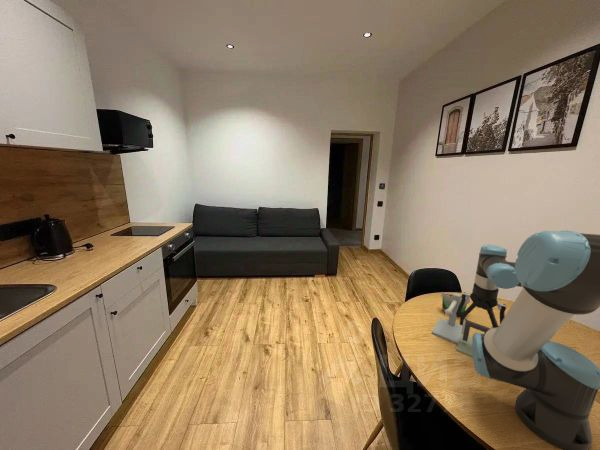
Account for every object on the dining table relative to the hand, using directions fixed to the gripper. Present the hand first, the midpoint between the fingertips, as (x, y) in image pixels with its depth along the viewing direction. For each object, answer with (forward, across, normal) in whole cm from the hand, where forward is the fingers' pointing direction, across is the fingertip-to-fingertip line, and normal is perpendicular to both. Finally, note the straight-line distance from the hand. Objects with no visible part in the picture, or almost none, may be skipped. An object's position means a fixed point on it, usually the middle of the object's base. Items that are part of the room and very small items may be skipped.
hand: (475, 337), depth 96 cm
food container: (+5, +11, -21) cm, 24 cm away
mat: (+5, 0, 0) cm, 5 cm away
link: (+3, 0, 0) cm, 3 cm away
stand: (+5, +10, -5) cm, 12 cm away
